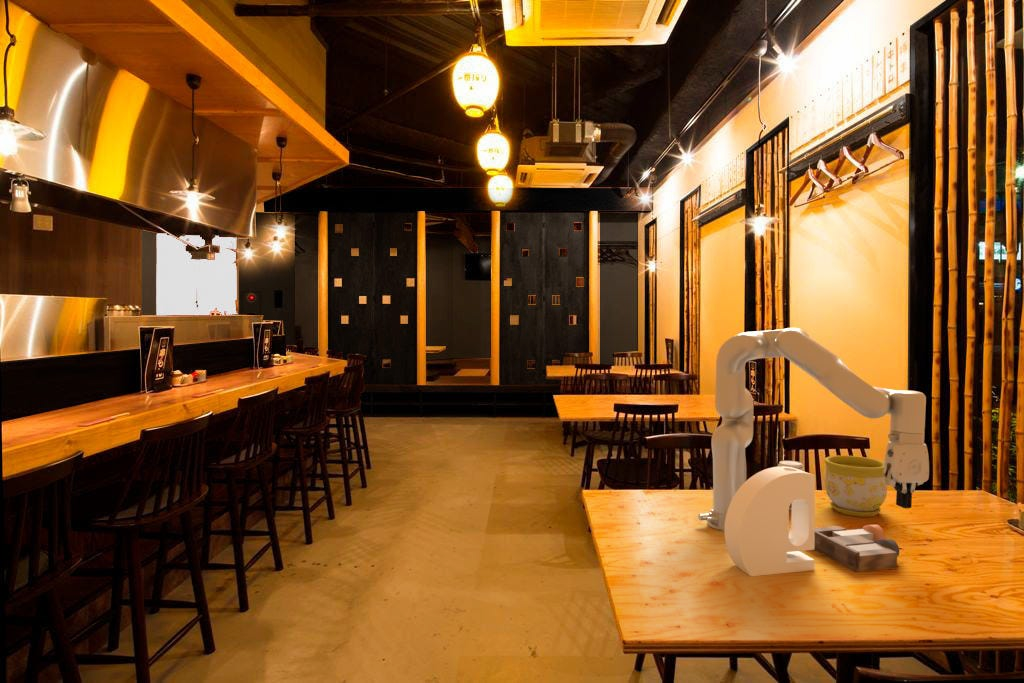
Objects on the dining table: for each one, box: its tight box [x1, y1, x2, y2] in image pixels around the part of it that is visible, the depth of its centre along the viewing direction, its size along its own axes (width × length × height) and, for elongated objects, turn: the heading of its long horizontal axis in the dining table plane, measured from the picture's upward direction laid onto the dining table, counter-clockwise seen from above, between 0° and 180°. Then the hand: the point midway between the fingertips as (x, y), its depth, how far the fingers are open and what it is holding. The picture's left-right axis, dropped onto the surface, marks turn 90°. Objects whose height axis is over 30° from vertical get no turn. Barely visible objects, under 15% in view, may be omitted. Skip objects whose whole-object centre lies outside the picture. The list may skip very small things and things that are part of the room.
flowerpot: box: [823, 455, 888, 518], centre depth 193 cm, size 18×18×16 cm
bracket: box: [723, 466, 816, 577], centre depth 149 cm, size 7×21×25 cm, turn 101°
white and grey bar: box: [848, 538, 900, 558], centre depth 153 cm, size 13×5×5 cm, turn 101°
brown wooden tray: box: [814, 525, 898, 573], centre depth 157 cm, size 12×20×5 cm, turn 11°
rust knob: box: [832, 524, 886, 543], centre depth 164 cm, size 13×5×5 cm, turn 101°
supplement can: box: [776, 460, 805, 511], centre depth 198 cm, size 8×8×15 cm
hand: (903, 506), depth 155 cm, fingers closed
